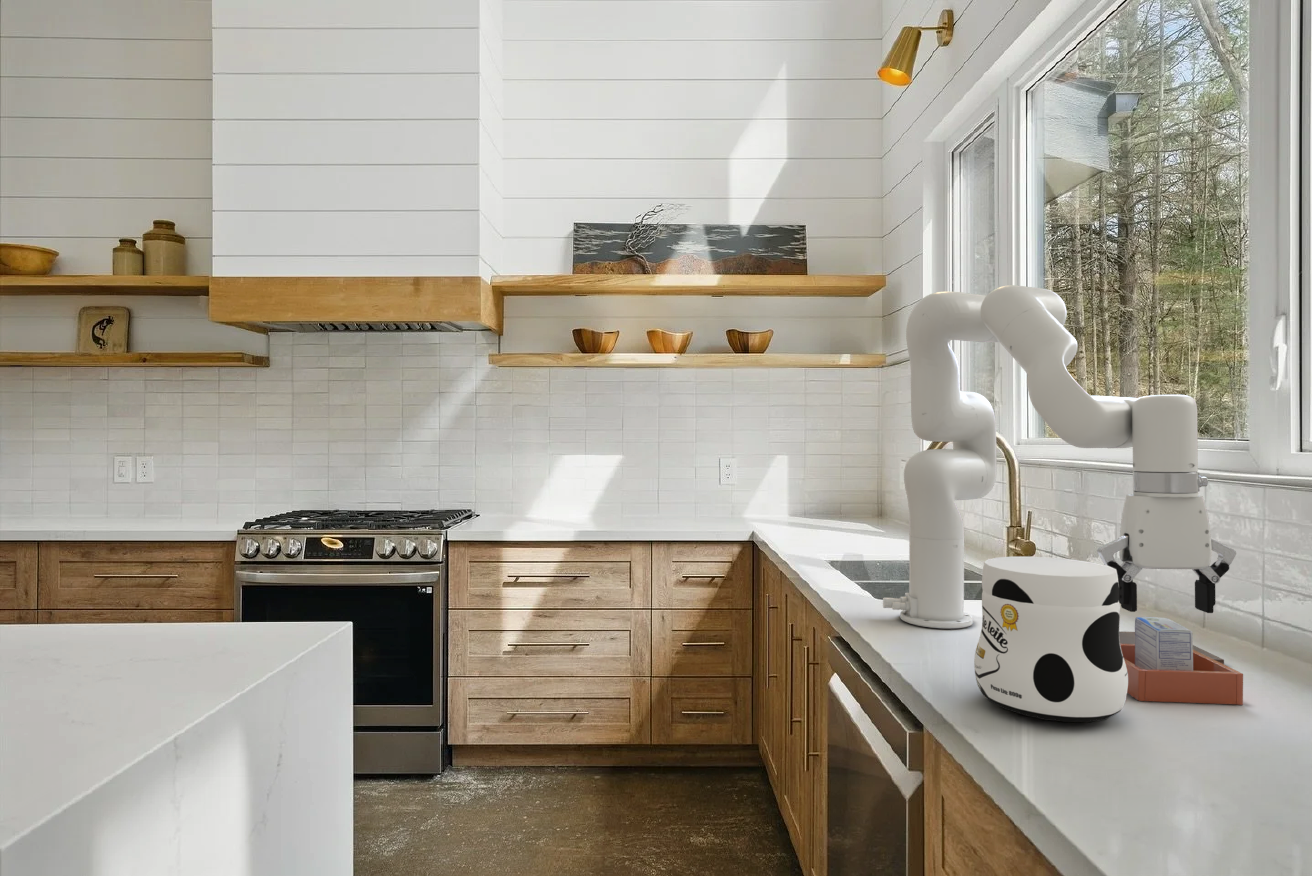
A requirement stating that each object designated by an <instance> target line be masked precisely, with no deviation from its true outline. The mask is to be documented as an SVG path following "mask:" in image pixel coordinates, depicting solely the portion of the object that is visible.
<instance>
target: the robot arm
mask: <svg viewBox="0 0 1312 876" xmlns="http://www.w3.org/2000/svg"><path fill="white" fill-rule="evenodd" d="M1067 316H1068V315H1067V306H1066V303H1065V302H1064V300H1063V299H1062V298H1061V296H1060V295H1059V294H1058V293H1056V292H1054V291H1053V290H1051V289H1046V288H1043V287H1034V286H1027V285H1026V286H1025V285H1017V284H1016V285H1015V284H1008V285H1003V286H999V287H997V288H994V289H993V290H991V291H990V292H989V293H987V294H980V293H979V294H977V293H970V292H962V291H961V292H960V291H937V292H933V293H929V294H927V295H925V296H923V297H922V298H921V299H920V300H919V301H918V302H916V304H915V305H914V307H913V309H911V312H910V314H909V316H908V319H907V322H906V329H905V339H906V347H907V352H908V358H909V366H910V417H911V418H910V419H911V426H912V430H913V432H914V434H915V436H916V437H917V438H918V439H920V440H923V441H926V442H934V443H935V442H936V443H937V442H938V443H950V442H951V443H952V448H934V449H933V448H932V449H925V450H921V451H919V452H916V453H915V454H913V455H912V456H911V457H909V459H908V460H907V462H906V464H905V466H904V470H903V484H904V489H905V493H906V494H905V495H906V499H907V505H908V506H907V507H908V526H909V527H908V532H909V533H908V535H909V541H908V542H909V544H908V545H909V547H908V549H909V551H908V553H909V555H908V559H909V561H908V565H909V566H908V573H909V574H908V592H905V593H904V596H900V597H899V598H895V597H883V598H882V608H883V609H891V610H893V611H899V610H900V619H901V620H902V621H903V622H905V623H908V624H911V625H914V626H918V627H923V628H932V629H947V630H948V629H963V628H964V629H965V628H968V627H971V626H973V624H974V617H973V616H972V615H971V614H970V613H968V612H965V524H964V520H963V516H962V514H961V512H960V509H959V507H958V505H957V502H956V501H969V500H978V499H982V498H984V497H986V496H987V495H989V494H990V493H991V491H992V490H993V488H994V487H995V483H996V479H997V473H998V468H997V466H998V463H997V461H998V460H997V456H998V455H997V422H996V416H995V415H996V414H995V411H994V407H993V406H992V404H991V403H990V401H989V400H988V399H987V398H986V397H985V396H984V395H982V394H980V393H978V392H974V391H970V390H969V391H967V390H961V385H960V367H959V366H960V365H959V362H958V359H957V357H956V354H955V352H954V351H953V349H952V347H951V346H950V344H949V343H950V342H951V341H960V342H961V341H962V342H975V343H1000V344H1001V346H1002V347H1003V348H1004V349H1005V351H1007V352H1008V353H1009V355H1010V356H1011V357H1012V358H1013V359H1014V360H1015V361H1016V362H1017V364H1018V365H1019V366H1020V367H1021V369H1023V371H1024V373H1026V374H1027V375H1026V376H1027V377H1026V386H1027V392H1028V396H1029V399H1030V402H1031V405H1032V406H1033V408H1034V410H1035V411H1036V412H1037V414H1038V415H1039V416H1040V418H1041V419H1042V420H1043V421H1044V422H1045V424H1046V425H1047V426H1048V427H1049V428H1050V429H1051V430H1052V431H1053V432H1054V434H1055V435H1057V436H1058V438H1060V439H1061V440H1062V441H1064V442H1065V443H1066V444H1068V445H1070V446H1073V447H1075V448H1079V449H1131V448H1132V494H1129V493H1128V494H1126V495H1125V499H1124V504H1123V508H1122V513H1121V520H1120V530H1119V537H1118V538H1115V539H1113V540H1112V541H1109V542H1108V543H1105V544H1103V545H1101V546H1099V547H1098V548H1097V549H1096V553H1097V554H1098V556H1099V558H1100V560H1101V562H1102V563H1103V565H1107V566H1110V567H1112V568H1114V569H1116V570H1117V575H1118V584H1119V604H1120V608H1121V609H1123V610H1126V611H1128V612H1130V613H1135V612H1137V611H1138V585H1137V583H1136V582H1134V579H1135V577H1136V576H1137V575H1139V573H1140V572H1141V571H1142V570H1143V569H1145V570H1146V569H1149V570H1192V571H1193V572H1194V573H1195V575H1196V576H1197V577H1198V579H1195V581H1194V608H1195V609H1196V610H1199V611H1201V612H1203V613H1206V614H1213V613H1214V612H1215V611H1214V606H1216V601H1217V600H1216V585H1217V584H1218V583H1220V581H1221V578H1222V577H1223V576H1225V574H1226V573H1228V571H1229V570H1230V566H1231V564H1232V563H1233V561H1234V559H1235V557H1236V555H1237V551H1236V550H1235V549H1234V548H1232V547H1229V546H1227V545H1225V544H1223V543H1221V542H1219V541H1217V540H1215V539H1213V538H1212V536H1211V535H1212V534H1211V527H1210V521H1209V519H1210V518H1209V514H1208V510H1207V506H1206V502H1205V499H1204V496H1203V495H1199V492H1200V491H1201V490H1200V488H1202V487H1207V486H1208V485H1209V479H1208V478H1207V476H1201V475H1200V472H1199V466H1198V465H1199V450H1198V449H1199V445H1198V443H1199V441H1198V439H1199V438H1198V435H1199V433H1198V430H1199V429H1198V404H1197V401H1196V400H1195V398H1194V397H1192V396H1191V395H1185V394H1153V395H1144V396H1140V397H1138V398H1137V397H1128V396H1127V397H1125V396H1111V395H1090V394H1089V393H1088V392H1087V391H1086V390H1085V389H1084V388H1083V387H1082V386H1081V385H1080V384H1079V383H1078V382H1077V380H1075V378H1073V376H1072V375H1071V374H1070V372H1069V371H1068V369H1067V366H1068V365H1070V363H1071V362H1072V361H1073V359H1074V358H1075V356H1076V355H1077V352H1078V347H1079V346H1078V342H1077V340H1076V338H1075V337H1074V336H1073V335H1072V333H1070V332H1069V331H1068V330H1067V329H1066V327H1065V323H1066V321H1067ZM1117 552H1118V554H1119V559H1120V561H1121V562H1122V563H1121V564H1119V563H1117V562H1116V559H1115V557H1114V554H1115V553H1117ZM1212 552H1215V553H1216V554H1217V557H1216V561H1214V562H1213V563H1212V564H1211V562H1212Z"/></svg>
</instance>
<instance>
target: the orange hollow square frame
mask: <svg viewBox="0 0 1312 876" xmlns="http://www.w3.org/2000/svg"><path fill="white" fill-rule="evenodd" d="M1120 646H1121V650H1122V654H1123V657H1124V661H1125V664H1126V668H1127V672H1128V689H1127V695H1130V697H1132V698H1133V699H1135V700H1137V701H1139V702H1158V703H1161V702H1162V703H1182V704H1183V703H1187V704H1189V703H1190V704H1211V705H1213V704H1215V705H1237V706H1243V705H1244V674H1243V673H1242V672H1241V671H1238V670H1236V669H1234V668H1232V667H1231V666H1228V665H1226V664H1225V663H1224V664H1222V663H1220V662H1218V661H1216V660H1214V659H1211V658H1209V657H1207V656H1205V655H1203V654H1201V653H1199V652H1197V651H1195V650H1193V671H1191V670H1161V669H1141V668H1140V667H1138V666H1136V665H1135V644H1120Z"/></svg>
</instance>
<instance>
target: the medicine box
mask: <svg viewBox="0 0 1312 876" xmlns="http://www.w3.org/2000/svg"><path fill="white" fill-rule="evenodd" d="M1134 632H1135V665H1136V666H1138V667H1140V668H1141V669H1161V670H1191V671H1193V645H1194V637H1193V631H1192V630H1191V629H1189V628H1187V627H1186V626H1183V625H1182V624H1180V623H1178V622H1175V620H1172V619H1170V618H1168V617H1158V616H1139V617H1138V616H1137V617H1135V618H1134Z"/></svg>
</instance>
